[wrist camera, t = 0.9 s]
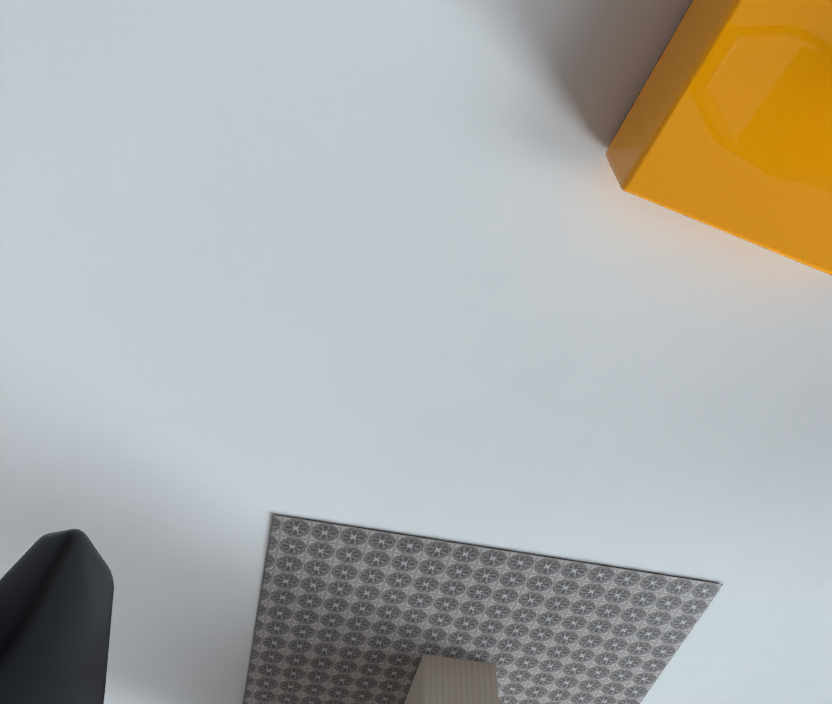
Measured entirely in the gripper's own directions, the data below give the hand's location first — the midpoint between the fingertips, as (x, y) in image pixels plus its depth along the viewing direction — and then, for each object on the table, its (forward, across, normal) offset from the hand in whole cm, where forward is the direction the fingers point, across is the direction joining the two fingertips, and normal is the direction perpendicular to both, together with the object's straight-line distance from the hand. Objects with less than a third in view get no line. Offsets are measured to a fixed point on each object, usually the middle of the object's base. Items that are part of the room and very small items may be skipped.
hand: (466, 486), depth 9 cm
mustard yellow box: (+13, -10, +1) cm, 16 cm away
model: (+12, +4, +29) cm, 32 cm away
